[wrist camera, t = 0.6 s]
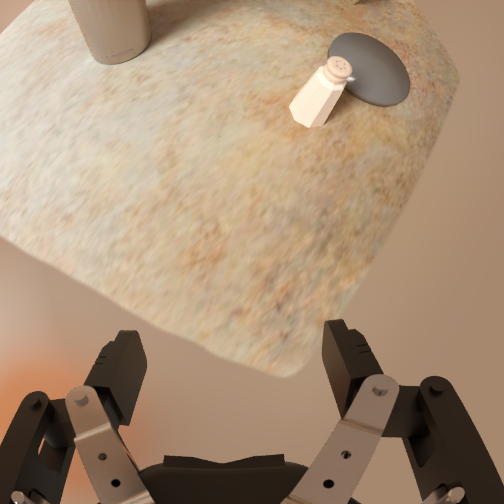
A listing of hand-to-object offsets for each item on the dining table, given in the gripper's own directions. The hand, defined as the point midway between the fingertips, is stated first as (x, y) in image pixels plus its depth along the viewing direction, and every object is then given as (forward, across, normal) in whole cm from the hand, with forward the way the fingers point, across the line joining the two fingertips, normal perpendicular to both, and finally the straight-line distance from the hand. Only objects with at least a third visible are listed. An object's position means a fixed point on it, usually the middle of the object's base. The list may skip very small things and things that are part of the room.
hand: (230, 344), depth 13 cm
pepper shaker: (+31, -10, -11) cm, 34 cm away
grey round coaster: (+36, -22, -19) cm, 46 cm away
